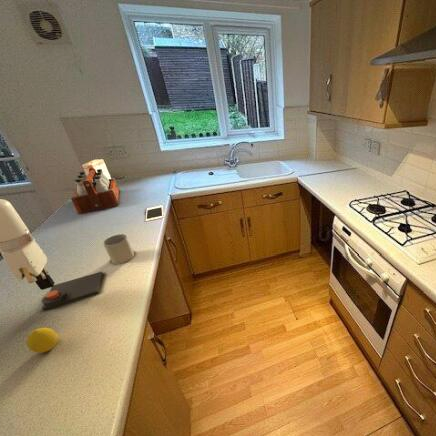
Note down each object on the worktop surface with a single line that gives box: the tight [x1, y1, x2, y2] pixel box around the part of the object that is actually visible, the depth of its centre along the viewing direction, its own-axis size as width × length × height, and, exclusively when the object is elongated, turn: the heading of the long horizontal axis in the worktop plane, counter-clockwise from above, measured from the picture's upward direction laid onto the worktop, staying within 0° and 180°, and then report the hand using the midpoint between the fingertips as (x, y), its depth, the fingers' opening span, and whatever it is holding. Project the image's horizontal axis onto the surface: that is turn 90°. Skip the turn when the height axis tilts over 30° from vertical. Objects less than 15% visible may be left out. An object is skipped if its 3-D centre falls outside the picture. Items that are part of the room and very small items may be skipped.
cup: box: [102, 233, 135, 265], centre depth 101 cm, size 8×8×10 cm
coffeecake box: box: [81, 158, 112, 182], centre depth 182 cm, size 15×7×20 cm, turn 6°
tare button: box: [45, 290, 60, 300], centre depth 81 cm, size 3×3×2 cm
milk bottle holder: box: [70, 168, 120, 214], centre depth 155 cm, size 21×35×19 cm, turn 32°
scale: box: [40, 271, 104, 312], centre depth 86 cm, size 15×12×4 cm
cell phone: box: [145, 205, 164, 222], centre depth 141 cm, size 9×18×1 cm, turn 26°
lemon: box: [26, 327, 58, 354], centre depth 66 cm, size 6×6×8 cm
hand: (48, 286), depth 79 cm, fingers closed
